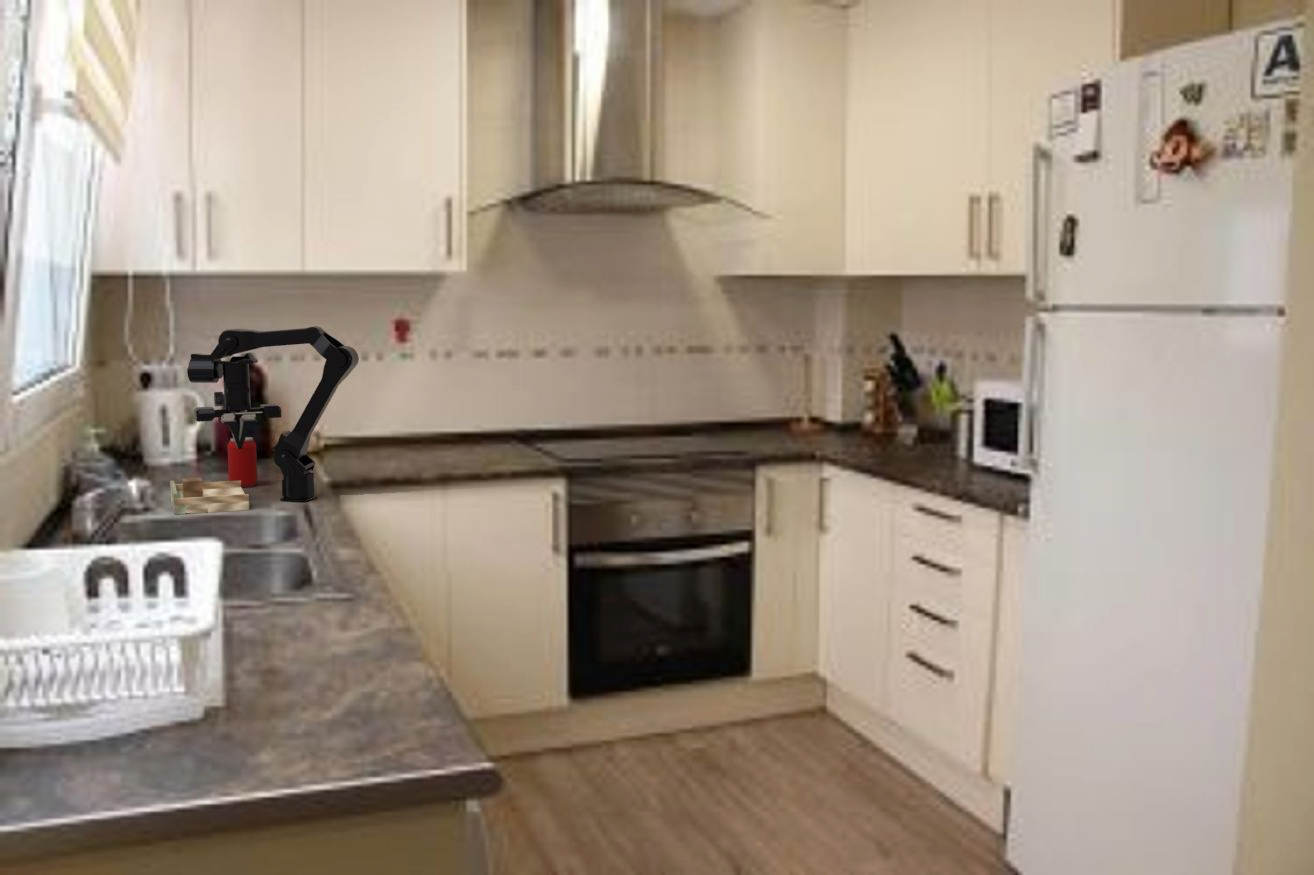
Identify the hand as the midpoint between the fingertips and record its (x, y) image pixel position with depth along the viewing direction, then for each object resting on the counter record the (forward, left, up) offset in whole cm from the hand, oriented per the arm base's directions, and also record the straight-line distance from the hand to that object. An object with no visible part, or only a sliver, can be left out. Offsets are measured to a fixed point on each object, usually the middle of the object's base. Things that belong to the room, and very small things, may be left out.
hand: (239, 449), depth 264 cm
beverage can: (+9, -15, -12) cm, 21 cm away
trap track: (+3, +8, -12) cm, 15 cm away
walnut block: (+6, +10, -10) cm, 15 cm away
